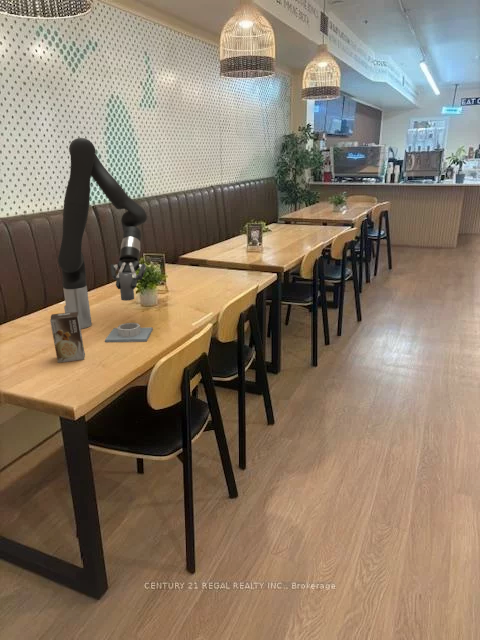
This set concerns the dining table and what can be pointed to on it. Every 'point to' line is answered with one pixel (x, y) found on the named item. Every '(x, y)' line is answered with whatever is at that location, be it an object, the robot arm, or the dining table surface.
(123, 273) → the dark grey cylinder
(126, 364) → the dining table surface
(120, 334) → the grey ring socket base
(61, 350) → the coffee box
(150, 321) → the dining table surface
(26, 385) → the dining table surface
